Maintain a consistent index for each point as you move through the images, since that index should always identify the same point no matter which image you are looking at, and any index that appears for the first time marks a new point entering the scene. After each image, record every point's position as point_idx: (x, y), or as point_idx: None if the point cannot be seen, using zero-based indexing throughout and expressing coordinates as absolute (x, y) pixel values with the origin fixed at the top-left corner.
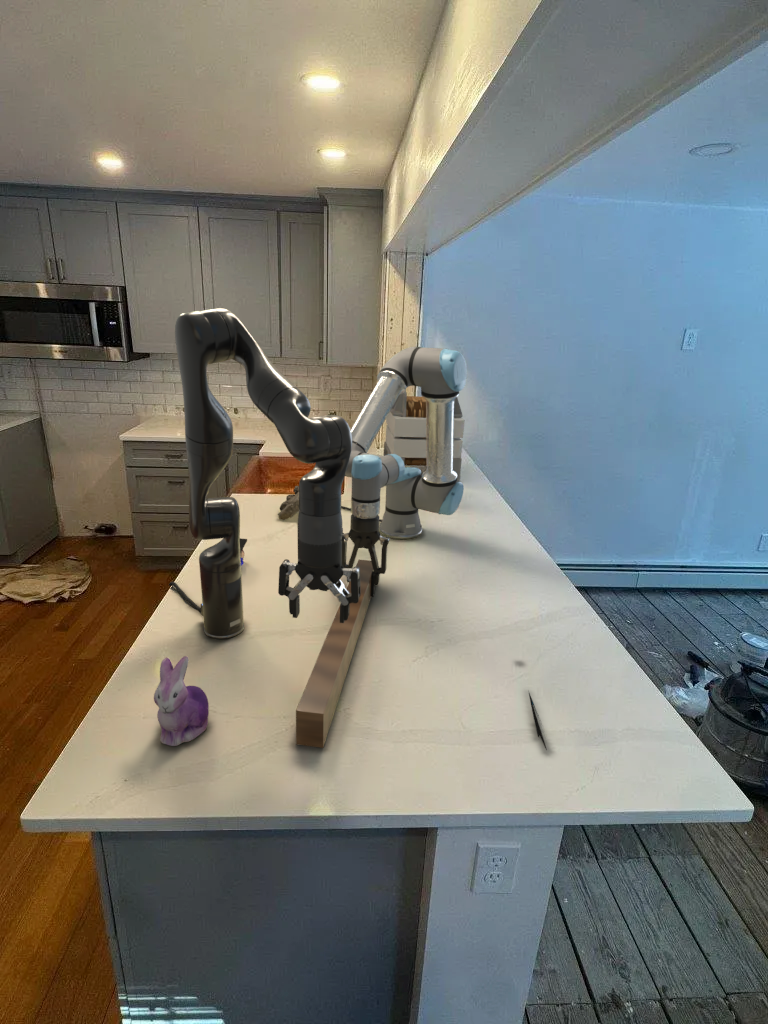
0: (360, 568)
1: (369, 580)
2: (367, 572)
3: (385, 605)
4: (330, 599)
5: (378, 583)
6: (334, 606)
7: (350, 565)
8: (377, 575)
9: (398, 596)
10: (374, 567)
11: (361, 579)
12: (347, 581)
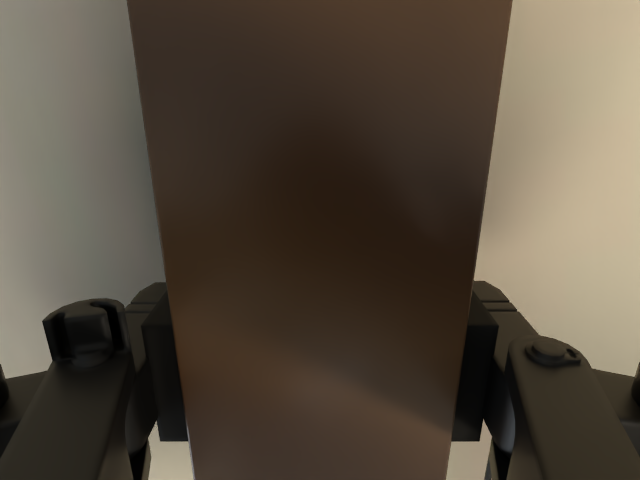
0: (370, 458)
1: (145, 116)
2: (246, 371)
3: (97, 125)
4: (577, 132)
5: (139, 295)
6: (538, 6)
7: (574, 429)
8: (65, 308)
9: (45, 289)
10: (73, 435)
11: (291, 103)
12: (486, 286)
